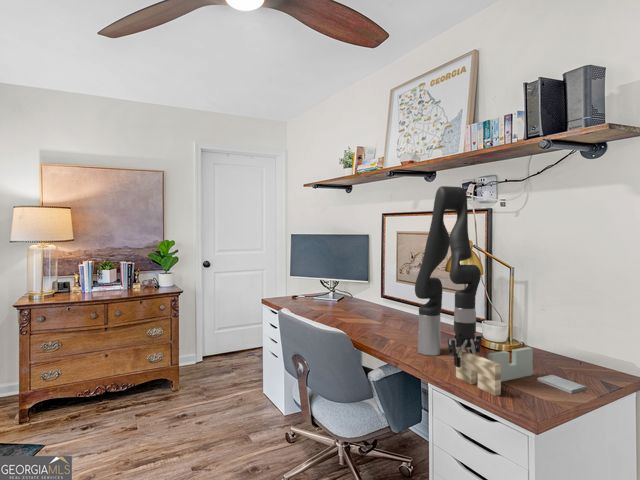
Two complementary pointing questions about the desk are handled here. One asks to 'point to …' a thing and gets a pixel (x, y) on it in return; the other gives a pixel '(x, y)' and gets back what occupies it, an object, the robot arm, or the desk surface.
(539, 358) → the desk surface
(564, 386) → the hard drive
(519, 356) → the slotted plate
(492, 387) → the pale wooden plank
